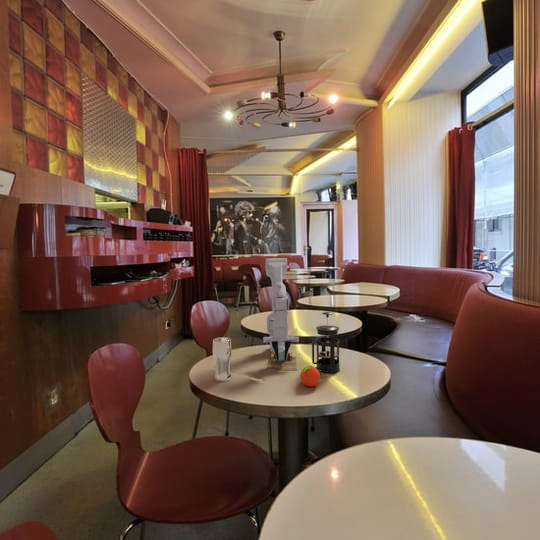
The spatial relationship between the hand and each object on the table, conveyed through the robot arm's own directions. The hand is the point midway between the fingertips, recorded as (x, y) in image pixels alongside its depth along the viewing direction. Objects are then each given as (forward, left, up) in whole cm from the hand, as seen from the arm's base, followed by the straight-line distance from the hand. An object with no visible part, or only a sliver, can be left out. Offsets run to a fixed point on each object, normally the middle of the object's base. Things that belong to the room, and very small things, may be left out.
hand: (281, 359), depth 149 cm
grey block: (-4, 0, -2) cm, 4 cm away
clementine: (+21, +10, -3) cm, 24 cm away
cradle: (-2, 0, -3) cm, 4 cm away
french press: (+4, +18, -3) cm, 19 cm away
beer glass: (+13, -22, -3) cm, 26 cm away
